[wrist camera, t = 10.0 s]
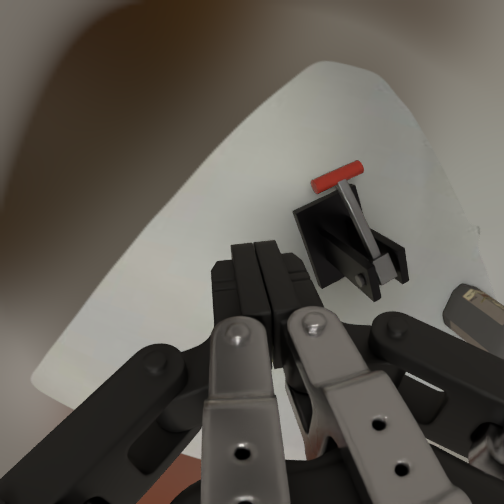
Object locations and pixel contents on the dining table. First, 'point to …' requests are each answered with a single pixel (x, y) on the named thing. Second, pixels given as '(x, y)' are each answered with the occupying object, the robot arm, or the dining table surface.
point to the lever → (357, 216)
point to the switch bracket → (343, 245)
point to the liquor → (476, 319)
